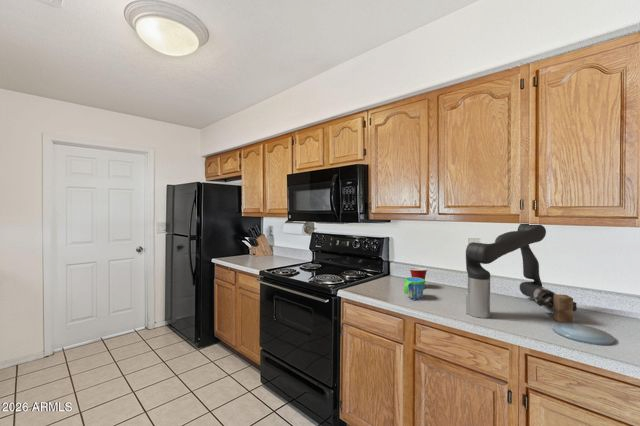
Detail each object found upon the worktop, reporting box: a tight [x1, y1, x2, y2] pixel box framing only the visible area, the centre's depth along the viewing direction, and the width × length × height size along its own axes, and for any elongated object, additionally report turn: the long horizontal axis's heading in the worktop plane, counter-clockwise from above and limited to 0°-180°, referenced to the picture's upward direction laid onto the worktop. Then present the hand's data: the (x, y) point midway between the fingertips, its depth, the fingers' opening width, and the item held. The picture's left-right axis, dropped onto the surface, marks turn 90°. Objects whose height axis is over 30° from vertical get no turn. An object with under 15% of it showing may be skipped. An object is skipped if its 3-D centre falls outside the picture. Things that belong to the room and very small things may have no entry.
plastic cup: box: [408, 267, 428, 281], centre depth 185 cm, size 11×11×12 cm
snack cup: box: [403, 276, 426, 300], centre depth 164 cm, size 16×10×10 cm
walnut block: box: [552, 293, 574, 323], centre depth 130 cm, size 5×5×11 cm
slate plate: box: [552, 322, 615, 346], centre depth 116 cm, size 18×18×1 cm
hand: (563, 307), depth 129 cm, fingers open, 8 cm apart
